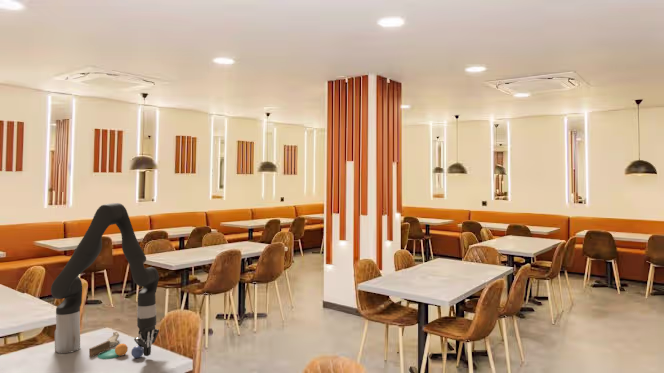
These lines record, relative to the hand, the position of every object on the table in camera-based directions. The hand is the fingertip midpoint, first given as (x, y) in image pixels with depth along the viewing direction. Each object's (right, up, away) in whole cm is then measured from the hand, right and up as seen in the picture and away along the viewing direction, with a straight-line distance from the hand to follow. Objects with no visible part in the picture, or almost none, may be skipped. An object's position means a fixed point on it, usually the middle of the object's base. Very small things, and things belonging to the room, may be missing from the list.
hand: (147, 355), depth 183 cm
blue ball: (-5, +1, +1) cm, 5 cm away
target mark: (-18, -2, +6) cm, 19 cm away
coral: (-24, -2, +19) cm, 31 cm away
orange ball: (-13, +1, +4) cm, 14 cm away
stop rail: (-24, -2, +8) cm, 26 cm away
